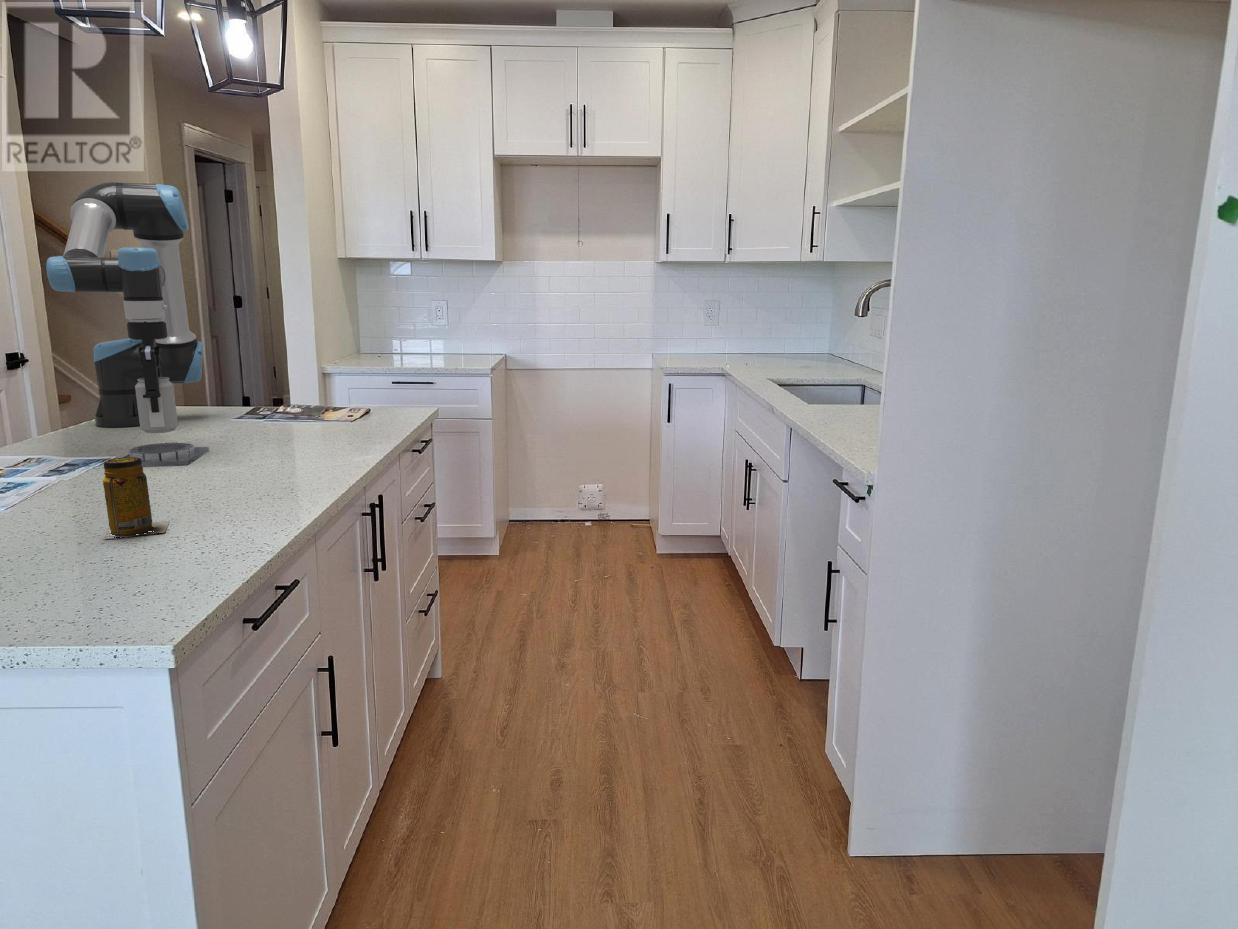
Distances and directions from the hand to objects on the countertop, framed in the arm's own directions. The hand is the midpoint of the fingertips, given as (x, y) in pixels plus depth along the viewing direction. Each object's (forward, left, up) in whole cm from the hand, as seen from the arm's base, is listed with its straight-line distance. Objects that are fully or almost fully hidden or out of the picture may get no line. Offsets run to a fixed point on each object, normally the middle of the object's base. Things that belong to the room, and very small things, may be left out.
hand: (158, 423), depth 180 cm
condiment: (+56, +15, -8) cm, 59 cm away
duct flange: (0, 0, -8) cm, 8 cm away
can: (0, 0, -2) cm, 2 cm away
